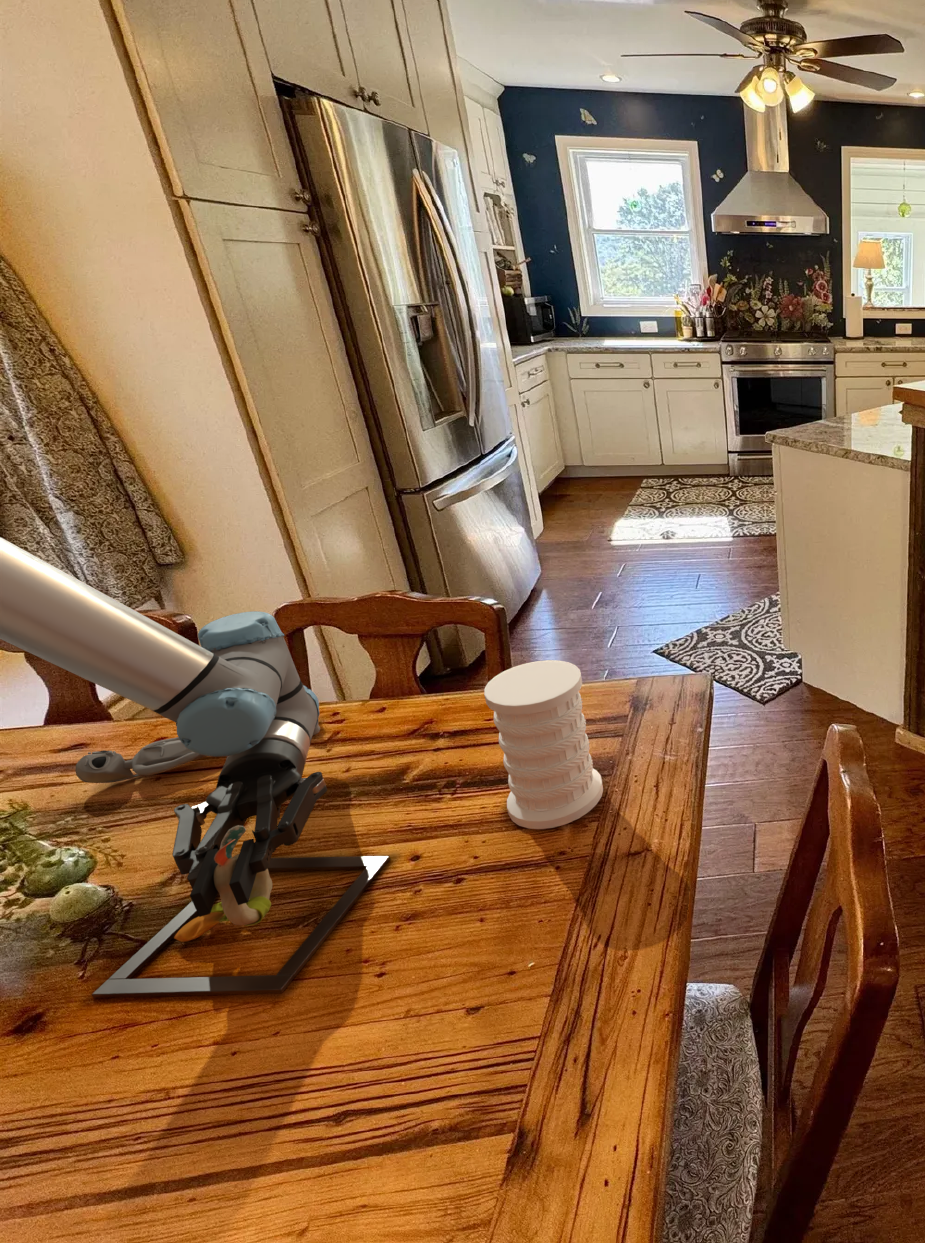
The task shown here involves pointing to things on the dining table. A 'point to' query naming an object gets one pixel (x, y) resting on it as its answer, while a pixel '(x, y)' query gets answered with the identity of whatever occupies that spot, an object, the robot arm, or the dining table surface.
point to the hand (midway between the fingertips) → (219, 898)
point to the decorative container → (544, 743)
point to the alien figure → (137, 761)
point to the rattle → (231, 894)
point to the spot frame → (128, 987)
